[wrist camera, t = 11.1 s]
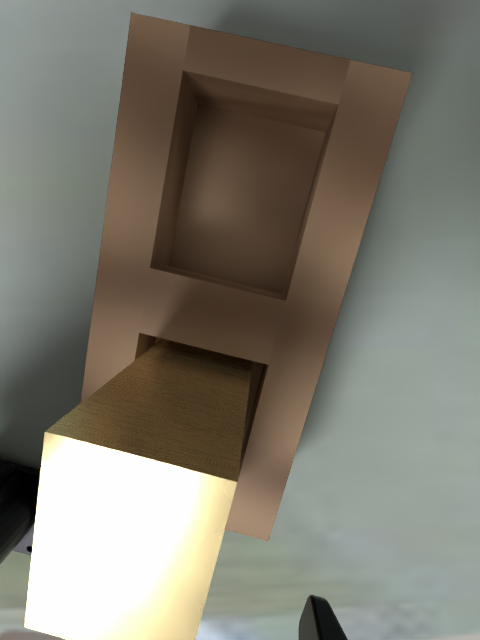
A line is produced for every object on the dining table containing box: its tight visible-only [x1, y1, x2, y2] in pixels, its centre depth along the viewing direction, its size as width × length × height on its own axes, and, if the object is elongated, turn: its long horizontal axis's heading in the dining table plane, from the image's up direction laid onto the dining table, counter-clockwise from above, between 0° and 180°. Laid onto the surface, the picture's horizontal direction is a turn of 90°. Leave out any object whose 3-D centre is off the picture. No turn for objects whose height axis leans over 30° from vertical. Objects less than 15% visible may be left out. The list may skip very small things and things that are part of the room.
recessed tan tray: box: [80, 13, 412, 541], centre depth 15 cm, size 20×10×4 cm, turn 167°
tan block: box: [24, 338, 253, 640], centre depth 12 cm, size 6×4×9 cm
